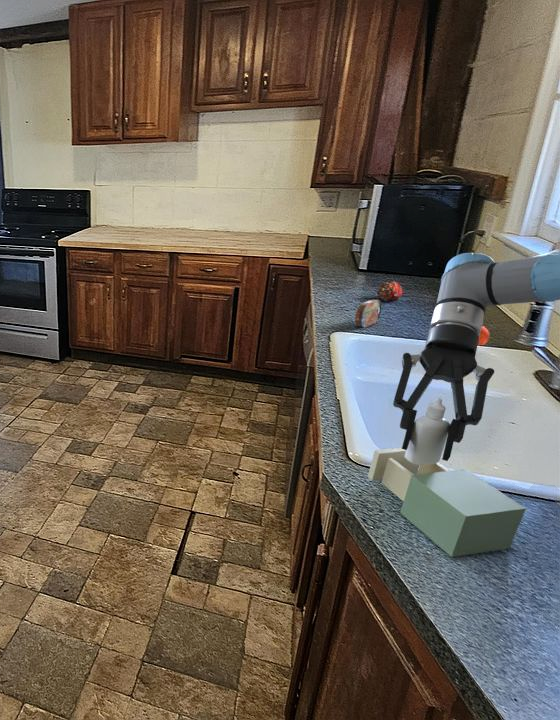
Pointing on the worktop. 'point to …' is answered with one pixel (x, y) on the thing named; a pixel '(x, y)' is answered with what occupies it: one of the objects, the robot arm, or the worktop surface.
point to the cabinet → (461, 512)
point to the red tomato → (483, 336)
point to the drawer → (397, 470)
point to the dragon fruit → (390, 291)
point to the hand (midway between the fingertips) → (425, 452)
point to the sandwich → (368, 313)
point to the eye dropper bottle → (428, 436)
